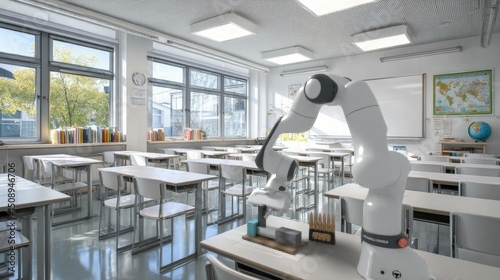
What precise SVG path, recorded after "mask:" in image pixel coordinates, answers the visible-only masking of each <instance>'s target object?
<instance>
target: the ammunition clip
mask: <svg viewBox="0 0 500 280" xmlns="http://www.w3.org/2000/svg"><path fill="white" fill-rule="evenodd" d="M313 215H314V216H313ZM322 216H323V217H322ZM335 218H336V217H335V215H334V214H332V217H331V215H330V213H328V214H327V216H326V213H324V212H323V215H322V213H321V212H319V215H318V214H317V212H314V214H313V212H312V211H311V212H310V213H309V221H308V222H309V223H308V225H309V226H308V228H309V229H308V240H310V241H309V242H313V241H315V242H314V243H319V242H320V244H325V245H326V244H327V245H330V244H331V246H336V242H337V241H336V240H337V239H336V222H335V221H336V220H335Z"/></svg>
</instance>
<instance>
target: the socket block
mask: <svg viewBox="0 0 500 280" xmlns="http://www.w3.org/2000/svg"><path fill="white" fill-rule="evenodd" d="M256 225H258V217H256V218H254V219H252V220H249V221H247V222H246V232H247V233H246V234H247V235H248V236H251V237H255V236H256Z"/></svg>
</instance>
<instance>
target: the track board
mask: <svg viewBox="0 0 500 280" xmlns="http://www.w3.org/2000/svg"><path fill="white" fill-rule="evenodd" d="M277 228H278V229H276V230H275V239H272V238H269V237H265V236H262V235H259V234H256V236H255V237H251V236H248V235H247V233H246V234H244V235H241V239H243V240H245V241H247V242H248V241H249V242H252V243H255V244H258V245H260V246H261V245H262V246H263V247H268V248H270V249H274V250H276V251H280V252H283V253H286V254H289V255H294V254H297V252H299V251H301V250H302V249H304V248H305V247H307V246H308V245H309V241H305V240H302V236H303V235H302V234H303V233H302V231H300V230H296V229H293V228H289V227H284V226H280V227H277ZM306 245H307V246H306ZM303 247H304V248H303Z"/></svg>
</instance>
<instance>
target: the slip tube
mask: <svg viewBox="0 0 500 280" xmlns="http://www.w3.org/2000/svg"><path fill="white" fill-rule="evenodd" d="M266 212H267V210H266V205H265V204H261V205H258V217H257V218H258V225H256V234H259V235H262V236H265V237H269V238H272V239H275V230H276V229H278V228H279V227H275V226H271V225H267V219H264V218H263V214H264V213H266Z"/></svg>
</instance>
